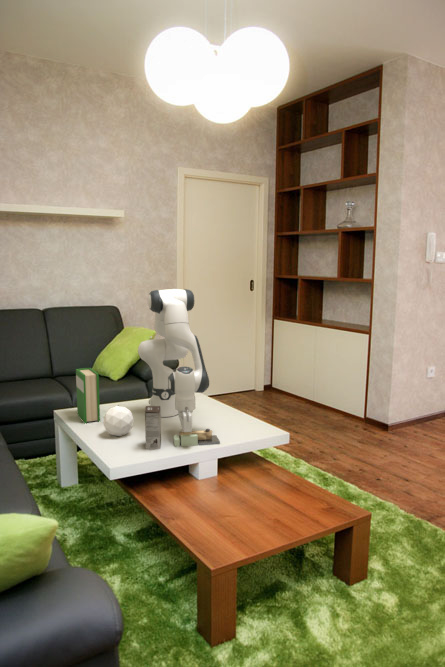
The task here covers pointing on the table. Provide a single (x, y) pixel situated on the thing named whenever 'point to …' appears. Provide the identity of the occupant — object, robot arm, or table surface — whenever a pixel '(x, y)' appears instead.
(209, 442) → the pin plate
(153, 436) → the coffee box
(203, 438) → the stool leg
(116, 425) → the geodesic sphere
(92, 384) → the hardback book
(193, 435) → the seat bracket
